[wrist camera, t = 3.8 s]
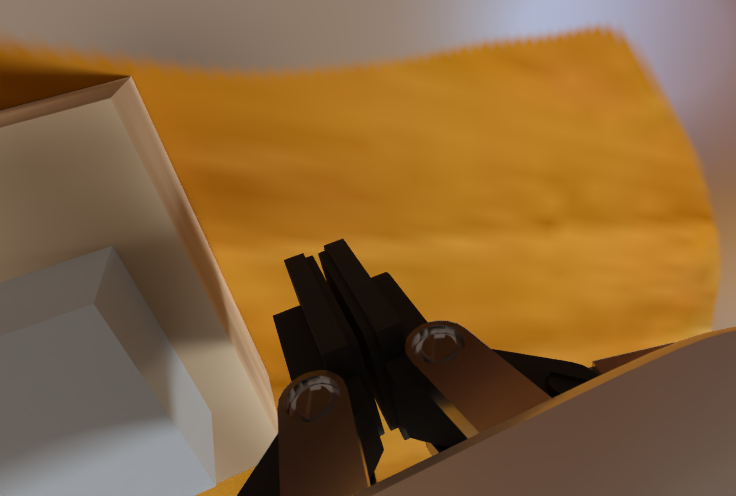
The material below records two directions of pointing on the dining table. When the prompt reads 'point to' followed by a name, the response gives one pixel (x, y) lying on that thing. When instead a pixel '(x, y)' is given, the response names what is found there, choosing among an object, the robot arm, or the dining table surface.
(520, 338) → the dining table surface
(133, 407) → the tile slate
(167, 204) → the birch plate
